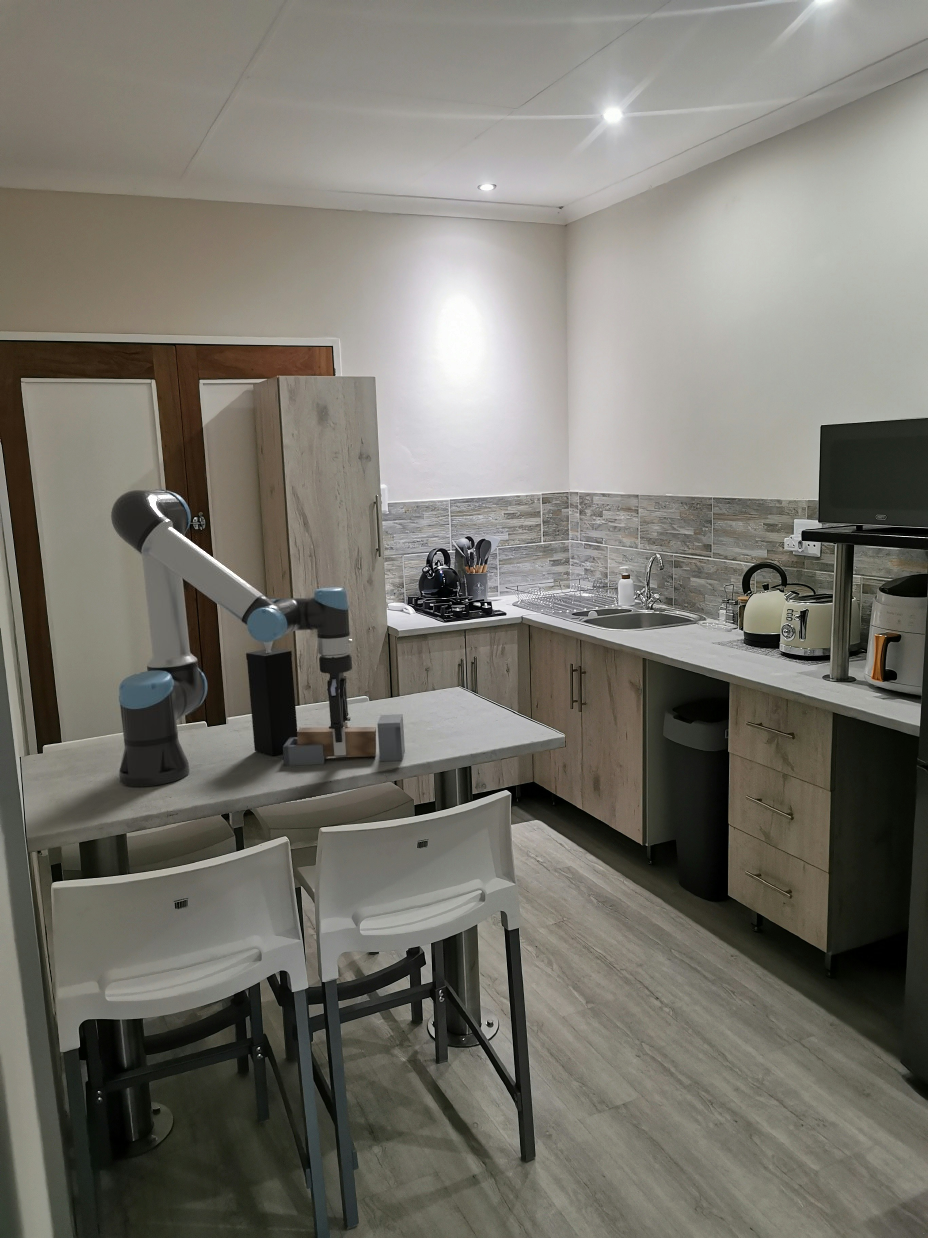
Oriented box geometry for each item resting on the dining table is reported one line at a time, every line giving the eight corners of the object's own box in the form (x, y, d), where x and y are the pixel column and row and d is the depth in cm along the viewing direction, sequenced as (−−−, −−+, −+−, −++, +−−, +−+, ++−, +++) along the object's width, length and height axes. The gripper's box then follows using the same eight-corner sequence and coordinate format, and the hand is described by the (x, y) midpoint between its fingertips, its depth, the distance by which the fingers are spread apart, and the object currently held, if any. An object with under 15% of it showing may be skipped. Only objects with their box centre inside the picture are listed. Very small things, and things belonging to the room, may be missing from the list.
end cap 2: (379, 761, 213) (377, 723, 212) (383, 751, 221) (380, 715, 220) (402, 760, 213) (399, 722, 212) (404, 750, 221) (402, 714, 219)
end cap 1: (284, 765, 213) (282, 747, 213) (291, 755, 221) (289, 737, 221) (323, 764, 213) (322, 745, 213) (329, 754, 221) (327, 735, 220)
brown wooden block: (297, 757, 214) (297, 732, 214) (299, 752, 218) (299, 727, 218) (375, 756, 215) (375, 731, 215) (376, 751, 219) (375, 727, 218)
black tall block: (299, 749, 227) (290, 637, 223) (272, 757, 221) (263, 642, 217) (280, 744, 232) (271, 634, 228) (254, 752, 226) (244, 639, 222)
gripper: (346, 660, 205) (353, 762, 208) (355, 647, 222) (362, 741, 225) (312, 662, 205) (319, 763, 208) (324, 648, 222) (331, 742, 225)
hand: (341, 751), depth 217 cm, fingers closed on brown wooden block, 4 cm apart
